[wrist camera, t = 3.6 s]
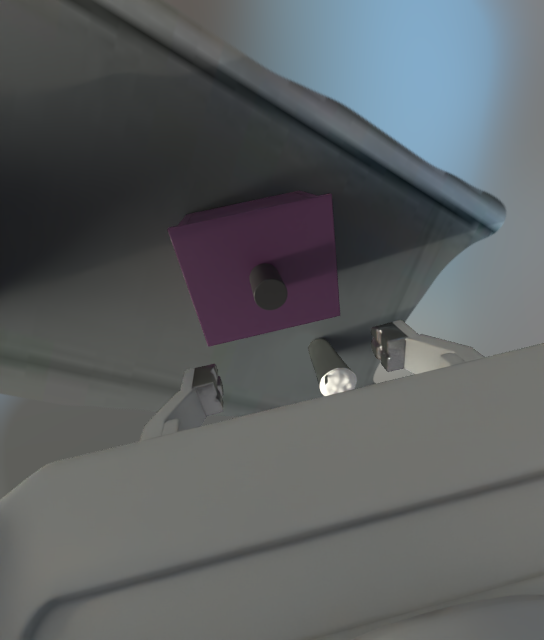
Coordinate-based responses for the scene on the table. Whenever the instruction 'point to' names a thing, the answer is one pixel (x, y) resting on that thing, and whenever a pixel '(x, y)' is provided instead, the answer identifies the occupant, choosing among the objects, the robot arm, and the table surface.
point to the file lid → (261, 268)
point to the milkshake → (330, 368)
